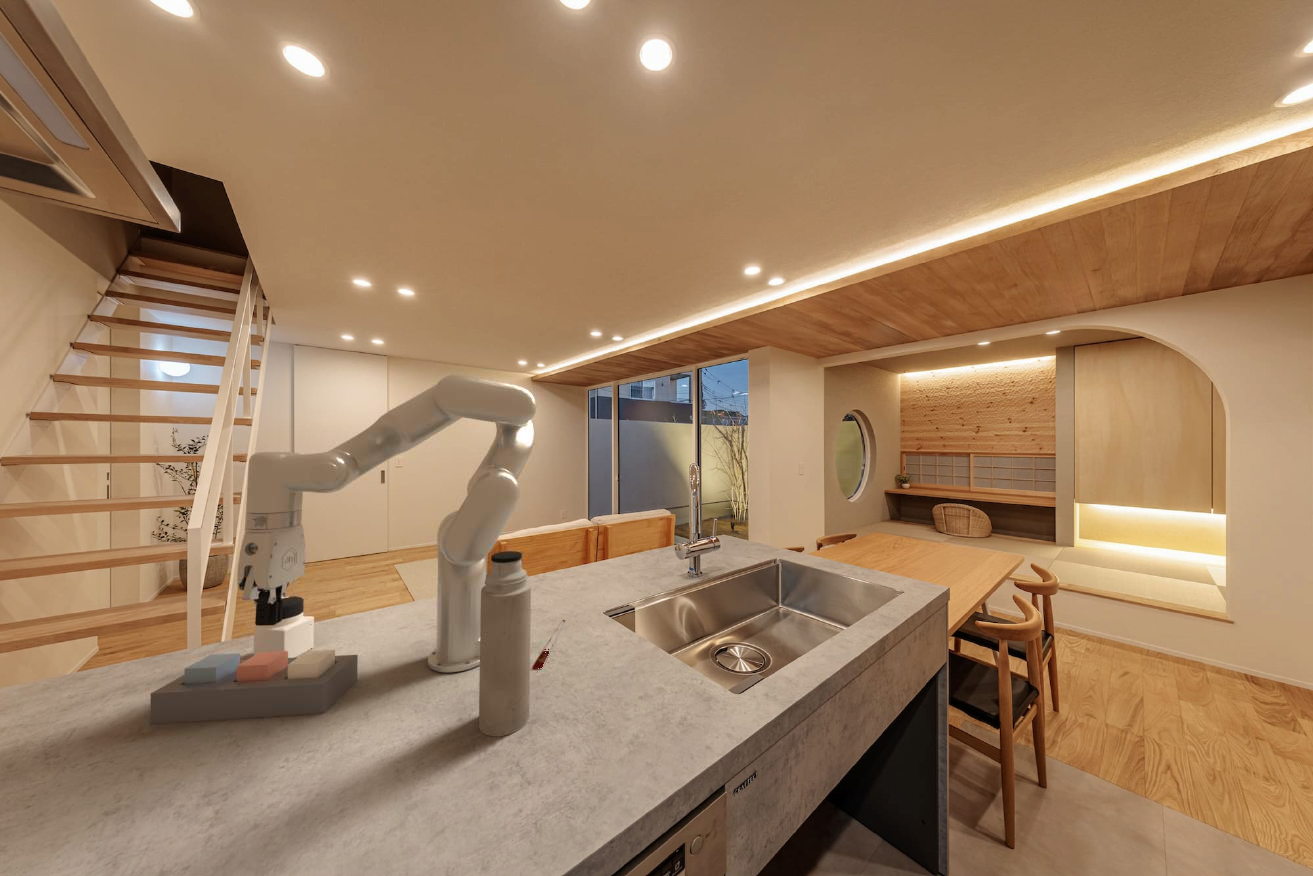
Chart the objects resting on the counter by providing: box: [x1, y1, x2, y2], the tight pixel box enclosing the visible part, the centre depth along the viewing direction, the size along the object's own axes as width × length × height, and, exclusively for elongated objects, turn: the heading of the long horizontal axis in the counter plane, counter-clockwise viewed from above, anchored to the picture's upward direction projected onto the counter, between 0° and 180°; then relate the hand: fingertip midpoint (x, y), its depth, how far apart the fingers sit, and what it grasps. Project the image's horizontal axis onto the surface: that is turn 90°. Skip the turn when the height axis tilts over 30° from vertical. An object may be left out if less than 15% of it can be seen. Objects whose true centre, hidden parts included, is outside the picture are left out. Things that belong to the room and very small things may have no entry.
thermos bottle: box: [478, 550, 532, 737], centre depth 71 cm, size 8×8×28 cm
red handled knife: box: [531, 649, 550, 670], centre depth 99 cm, size 2×24×1 cm, turn 0°
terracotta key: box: [237, 651, 288, 682], centre depth 76 cm, size 5×5×4 cm
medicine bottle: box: [253, 595, 315, 658], centre depth 92 cm, size 7×7×12 cm
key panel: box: [149, 654, 359, 725], centre depth 76 cm, size 26×10×5 cm, turn 97°
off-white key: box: [288, 649, 336, 679], centre depth 77 cm, size 5×5×4 cm
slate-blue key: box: [184, 652, 241, 685], centre depth 75 cm, size 5×5×4 cm
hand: (268, 623), depth 76 cm, fingers closed
